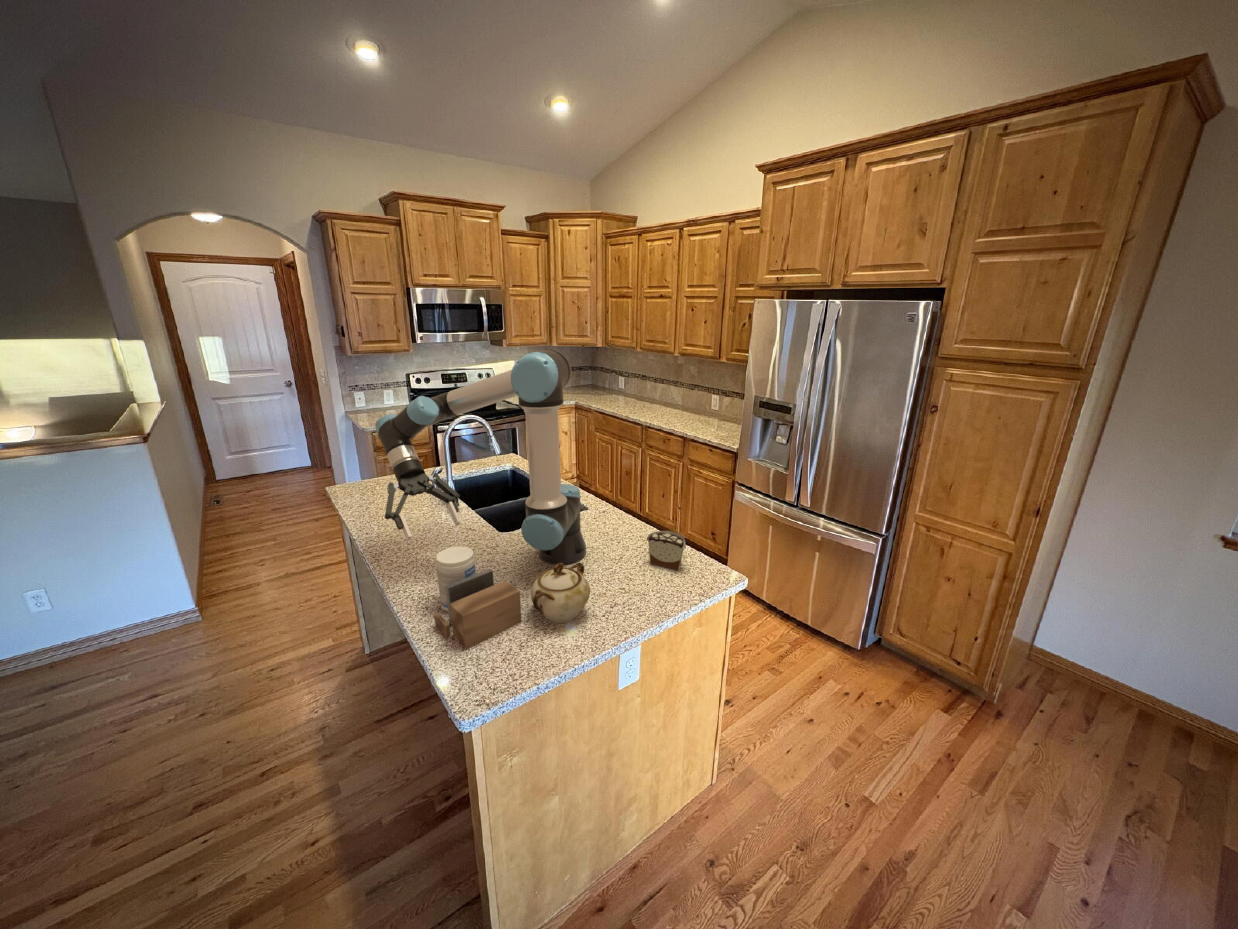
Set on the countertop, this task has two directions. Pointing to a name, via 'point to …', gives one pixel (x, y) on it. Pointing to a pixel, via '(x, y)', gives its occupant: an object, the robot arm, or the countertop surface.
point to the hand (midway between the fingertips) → (434, 531)
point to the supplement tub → (453, 568)
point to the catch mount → (482, 614)
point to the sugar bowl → (561, 592)
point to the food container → (666, 549)
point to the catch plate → (468, 586)
